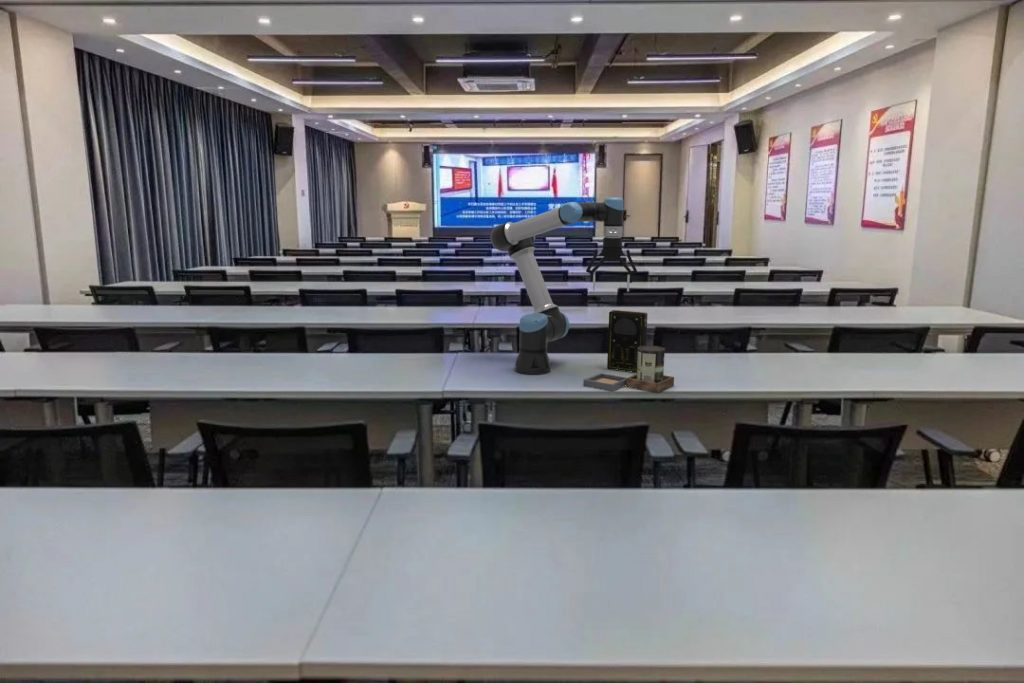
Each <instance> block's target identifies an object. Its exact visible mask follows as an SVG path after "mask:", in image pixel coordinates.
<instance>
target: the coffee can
mask: <svg viewBox="0 0 1024 683" xmlns="http://www.w3.org/2000/svg"><path fill="white" fill-rule="evenodd" d="M665 351H666V348H665V347H663V346H658V345H646V346H640V347H638V363H637V373H636V374H637V380H643V381H648V382H654V383H659V382H661V381H663V375H664V371H665V369H664V368H665V353H666V352H665Z"/></svg>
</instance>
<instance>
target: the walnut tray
mask: <svg viewBox="0 0 1024 683" xmlns="http://www.w3.org/2000/svg"><path fill="white" fill-rule="evenodd" d="M625 378H626V386H627V387H626V386H625V387H626V388H628V387H632V388H631V389H633V388H637V389H636V390H639V389H641V390H640V391H644V390H645V392H649V393H656V394H660V393H662V392H664V391H666V390H668V389H670V388H671V387H673V386H674V385H675V377H674V376H672V375H671V376H670V375H663V381H661V382H659V383H654V382H648V381H643V380H637V373H636V374H633V375H631V376H628V377H625Z"/></svg>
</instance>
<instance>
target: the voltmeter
mask: <svg viewBox="0 0 1024 683" xmlns="http://www.w3.org/2000/svg"><path fill="white" fill-rule="evenodd" d="M647 330H648V312H642V311H641V312H640V311H630V310H618V309H613V310H611V311H609V312H608V333H607V334H608V335H607V336H608V337H607V364H606V368H607V370H611V369H618V370H617V371H619V370H625V371H624V372H627V371H632V372H631V373H635V372H637V363H638V347H640V346H647V334H648V333H647V332H648V331H647Z"/></svg>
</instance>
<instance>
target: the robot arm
mask: <svg viewBox="0 0 1024 683" xmlns="http://www.w3.org/2000/svg"><path fill="white" fill-rule="evenodd" d="M624 210H625V209H624V199H623V197H604V200H603V202H596V201H595V202H592V201H591V202H590V201H583V202H581V201H579V202H576V201H570V202H566V203H563V205H562V206H559V207H556V208H553V209H551V210H548V211H544V212H542V213H539V214H536V215H533V216H531V217H528V218H524V219H521V220H519V221H516V222H512V221H508V222H505V223H502V224H498V225H496V226H494V228H492V230H491V233H490V236H489V237H490V242H491V244H492V246H493V248H494V249H496V250H498V251H500V252H507V254H508V256H509V258H510V259H511V260H514V261H515V265H516V268H517V269H518V272H519V274H520V277H521V279H522V282H523V286H524V287H525V290H526V293H527V295H528V297H529V298H528V299H530V303H531V305H532V308H533V310H534V312H533V313H528V314H524V315H522V316H521V317H520V319H519V326H518V329H519V330H518V331H519V334H518V335H519V339H518V340H519V346H518V348H519V352H518V355H517V357H516V362H515V364H514V371H515V370H516V371H517V372H516V371H515V372H516V373H519V372H520V373H519V374H523V373H524V375H543V374H548V373H550V372H551V371H552V364H551V362H550V358H549V355H548V343H551V342H554V341H555V342H556V341H559V340H561V339H562V338H565V336H566V335H567V334H568V332H569V330H570V321H569V318H568V316H567V315H566V314H565V313H563V312H561V311H560V308H559V306H558V305H557V304H555V303H553V299H552V298H551V295H550V293H549V290H548V288H547V285H546V282H545V280H544V276H543V274H542V272H541V270H540V266H539V264H538V262H537V259H536V257H535V255H534V252H535V249H536V247H535V243H536V242H535V240H536V236H537V235H540V234H544V233H547V232H549V231H553V230H556V229H559V228H562V227H564V226H570V225H571V224H576V223H584V222H585V223H587V222H598V223H601V222H602V223H603V227H602V228H603V233H602V234H603V238H602V249H597V248H596V249H594V254H593V256H592V259H591V260H590V262H589V263H588V265H587V268H586V269H585V272H586V273H588V274H589V277H590V279H589V282H590V283H592V291H595V290H596V273H595V272H596V271H597V270H598V269H599V268H600V267H601V265H602V264H604V262H605V261H607V262H611V261H613V262H617V261H618V262H619V263H620V264H621V265H622V266H623V267H624V269H625V271H627V272H628V274H627V280H626V281H627V282H626V284H627V285H626V292H630V284H631V283H633V275H635V274H637V273H638V270H637V267H636V266H635V263H634V261H633V259H632V257H631V251H630V249H625V250H623V238H622V237H623V230H624V229H623V228H624V226H623V225H624V224H623V223H624V222H623V220H624ZM600 254H601V255H602V256H603V257H602V258H601V259H600V260H599V262H598V263H596V265H595V266H594V267H593V265H594V263H595V260H596V259H597V257H598V256H599V255H600ZM623 254H624V256H626V257H627V259H628V261H629V264H630V265H631V266H628V264H626V262H625V261H624V260H623V258H622V255H623ZM592 267H593V268H592ZM630 267H631V268H632V269H630Z"/></svg>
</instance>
